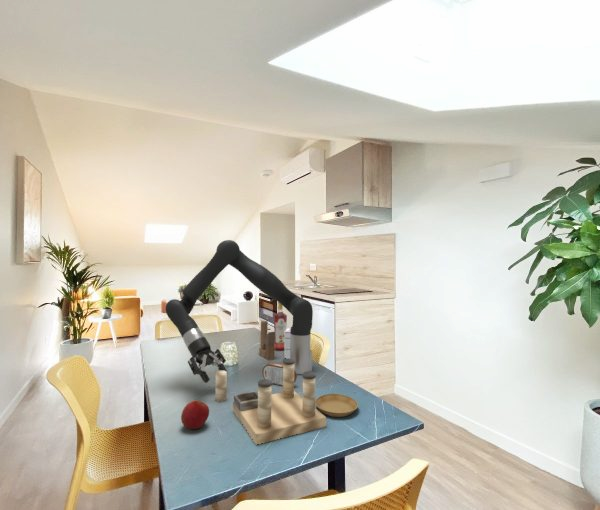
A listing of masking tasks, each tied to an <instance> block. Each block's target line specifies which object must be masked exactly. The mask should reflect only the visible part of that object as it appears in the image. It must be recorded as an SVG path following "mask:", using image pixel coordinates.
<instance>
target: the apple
mask: <svg viewBox="0 0 600 510" xmlns="http://www.w3.org/2000/svg"><path fill="white" fill-rule="evenodd" d="M209 416H210V407H209V406H208V405H207V404H206V403H205V402H203V401H200V400H196V399H195V400H191V401H190V402H188V403H187V404H186V405H185V406H184V408H183V410H182V412H181V416H180V420H181V423H182V425H183V426H184V427H185V428H187V429H190V430H197V429H199V428H201V427H202V426H203V425H204V424H205V423H206V422H207V420H208V417H209Z"/></svg>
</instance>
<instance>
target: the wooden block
mask: <svg viewBox="0 0 600 510" xmlns="http://www.w3.org/2000/svg"><path fill="white" fill-rule="evenodd" d="M268 325H269V324H268V320H261V321H260V348H259V349H258V355H259V356H261V357H263V358H264V359H265V360H268V361H270V360H271V361H272V360H275V350H276V349H275V331H268V328H269V327H268Z"/></svg>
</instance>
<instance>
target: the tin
mask: <svg viewBox="0 0 600 510" xmlns="http://www.w3.org/2000/svg"><path fill="white" fill-rule="evenodd" d="M261 372H262V377H263V379H269V380H271V381H272V385H276V386H280V387H283V363H280V362H273V361H271V362H268V363H266V364H265V365H264V366H263V368H262V371H261ZM297 376H298V374H296V371H295V370H294V384H295V383H296V381H297V378H298V377H297Z"/></svg>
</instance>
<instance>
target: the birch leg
mask: <svg viewBox="0 0 600 510" xmlns="http://www.w3.org/2000/svg"><path fill="white" fill-rule="evenodd" d="M227 375H228V370H227V371H223V370H221V371H219V370H217V371H215V383H214V384H215V386H214V387H215V391H214V392H215V395H214V397H215V398H214V399H215V400H216V401H215V400H214V401H215V402H217V401H218V403H222V402H221V401H223V402H225V401H227V392H228V391H227V389H228V383H227V380H228V376H227ZM219 401H220V402H219Z"/></svg>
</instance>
